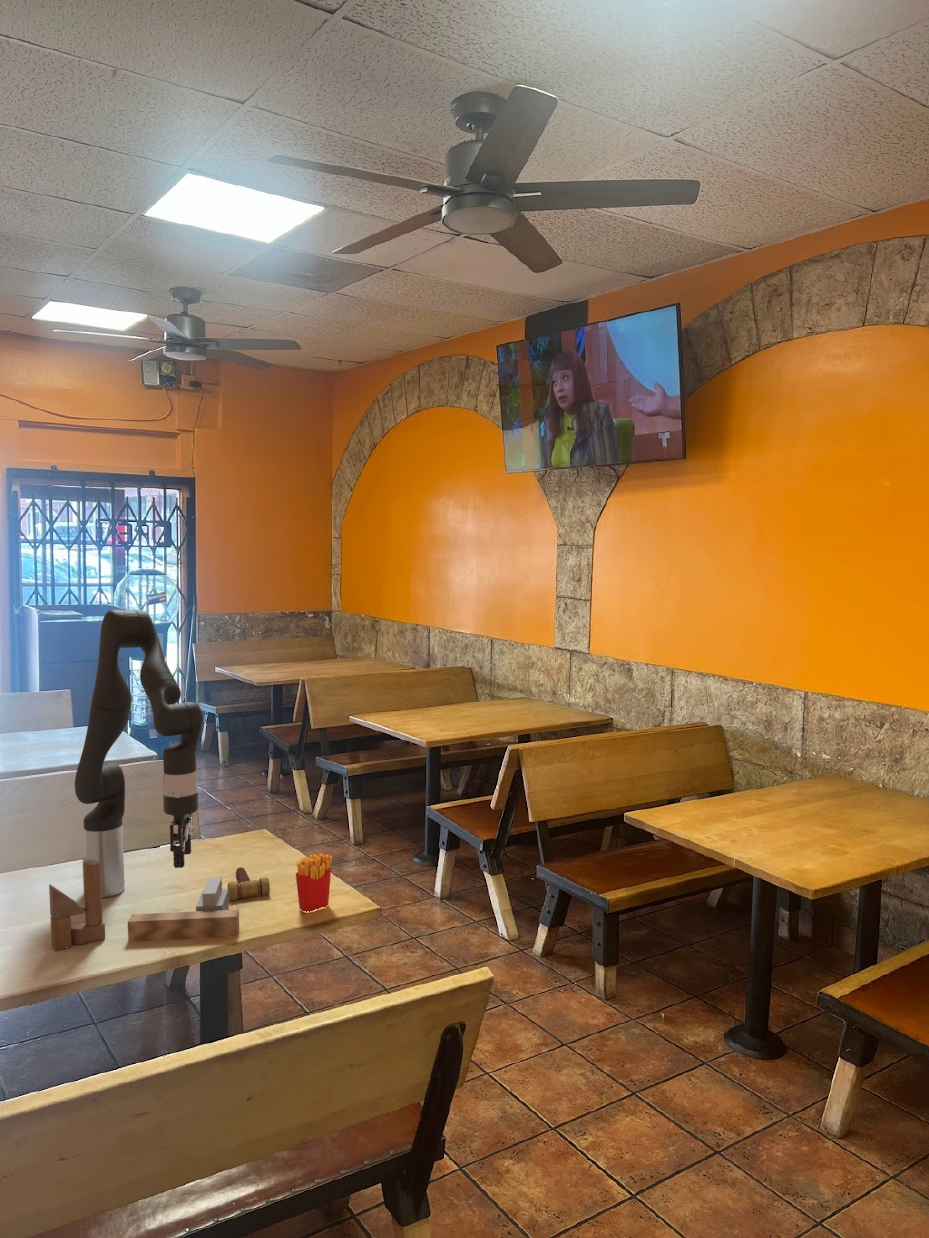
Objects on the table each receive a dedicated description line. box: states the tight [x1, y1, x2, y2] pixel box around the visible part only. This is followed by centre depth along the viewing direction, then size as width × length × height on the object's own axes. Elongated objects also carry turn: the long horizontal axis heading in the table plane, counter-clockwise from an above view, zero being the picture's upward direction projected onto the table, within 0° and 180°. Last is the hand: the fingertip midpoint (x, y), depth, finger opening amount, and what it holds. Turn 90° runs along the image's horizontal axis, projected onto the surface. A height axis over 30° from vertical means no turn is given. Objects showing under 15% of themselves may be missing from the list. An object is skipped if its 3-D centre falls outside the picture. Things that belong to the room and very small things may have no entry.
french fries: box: [295, 852, 333, 912], centre depth 224 cm, size 9×4×13 cm, turn 128°
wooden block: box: [48, 860, 106, 951], centre depth 205 cm, size 4×11×18 cm, turn 125°
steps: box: [195, 876, 230, 911], centre depth 219 cm, size 6×10×8 cm, turn 7°
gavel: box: [227, 867, 271, 902], centre depth 239 cm, size 21×5×10 cm
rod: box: [127, 909, 240, 943], centre depth 209 cm, size 24×4×5 cm, turn 97°
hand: (182, 860), depth 208 cm, fingers open, 8 cm apart
